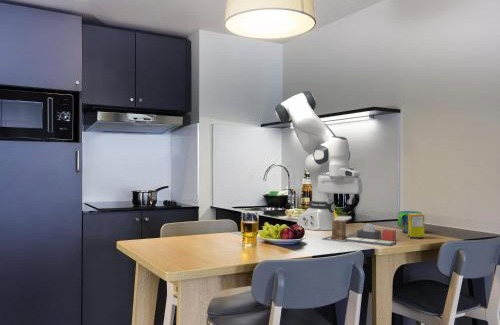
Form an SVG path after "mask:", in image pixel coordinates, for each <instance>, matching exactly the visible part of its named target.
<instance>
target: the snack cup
mask: <svg viewBox="0 0 500 325" xmlns="http://www.w3.org/2000/svg"><path fill="white" fill-rule="evenodd" d="M408 213H421V214H423V213H422V212H421V211H417V210H416V211H415V210H401V211H398V218H397V226H398V227H399V228H401V231H402V233H405V234H408Z"/></svg>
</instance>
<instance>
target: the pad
mask: <svg viewBox="0 0 500 325" xmlns="http://www.w3.org/2000/svg"><path fill="white" fill-rule="evenodd" d="M331 236H332V235H329V236H326V237H322V238H321V240H326V241H333V242H334V241H335V242H341V243H346V242H348V241H345V240H334V239H331ZM350 237H351V236H350ZM350 237H348V236H347V238H350Z"/></svg>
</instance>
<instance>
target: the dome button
mask: <svg viewBox="0 0 500 325" xmlns="http://www.w3.org/2000/svg"><path fill="white" fill-rule="evenodd" d="M362 229H363V231H368V232H375V230H376V228H375V225H374V224H372V223H371V222H369V223H366V224H364V225H363V228H362Z"/></svg>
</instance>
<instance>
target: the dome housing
mask: <svg viewBox="0 0 500 325" xmlns="http://www.w3.org/2000/svg"><path fill="white" fill-rule="evenodd" d="M356 238H366V239H375V240H381V239H382V230H379V229H375V232H368V231H363V228H362V229H359V230H357V231H356Z"/></svg>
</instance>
